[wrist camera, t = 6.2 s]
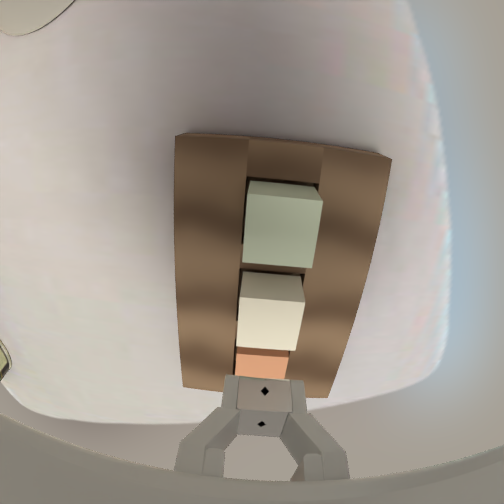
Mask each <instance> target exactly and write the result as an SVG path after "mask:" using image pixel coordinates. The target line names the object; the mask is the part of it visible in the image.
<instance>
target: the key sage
mask: <svg viewBox="0 0 504 504" xmlns="http://www.w3.org/2000/svg"><path fill="white" fill-rule="evenodd" d="M322 205H323V200H322V199H321V197H320V195H319V194H318V192H317V190H316V189H315V187H311V186H302V185H293V184H283V183H273V182H262V181H251V180H250V184H249V189H248V193H247V206H246V219H245V232H244V245H243V258H242V262H245V263H257V264H268V265H279V266H291V267H302V268H312V265H313V259H314V254H315V248H316V242H317V236H318V230H319V224H320V218H321V211H322Z"/></svg>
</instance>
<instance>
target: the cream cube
mask: <svg viewBox="0 0 504 504" xmlns="http://www.w3.org/2000/svg"><path fill="white" fill-rule="evenodd" d="M304 307H305V298H304V292H303V287H302V281H301V276H290V275H278V274H267V273H256V272H244V271H243V277H242V284H241V291H240V300H239V314H238V328H237V342H236V346H239V347H250V348H262V349H275V350H291V351H295V350H296V345H297V340H298V336H299V331H300V326H301V322H302V317H303V312H304Z"/></svg>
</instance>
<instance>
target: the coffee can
mask: <svg viewBox="0 0 504 504" xmlns="http://www.w3.org/2000/svg"><path fill="white" fill-rule="evenodd" d="M10 368H11V358H10V356H9V353H8V351H7V350H6V348H5V346H4V345H3V343H2V342H1V341H0V381H1V380H2V378H3V377H4V376H5V374H6V373H7V371H8V370H9V369H10Z"/></svg>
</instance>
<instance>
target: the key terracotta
mask: <svg viewBox="0 0 504 504" xmlns="http://www.w3.org/2000/svg"><path fill="white" fill-rule="evenodd" d="M288 359H289V353H288V350H275V349H262V348H250V347H239V346H237V355H236V369H235V375H237V376H246V377H255V378H271V379H284V378H285V373H286V368H287V364H288Z"/></svg>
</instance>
